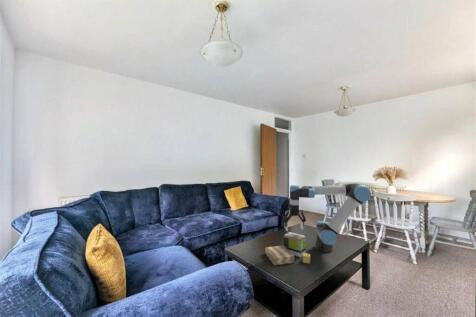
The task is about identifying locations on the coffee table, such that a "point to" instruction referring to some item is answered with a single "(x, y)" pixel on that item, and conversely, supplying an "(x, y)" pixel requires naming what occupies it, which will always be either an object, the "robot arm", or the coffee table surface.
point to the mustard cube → (306, 258)
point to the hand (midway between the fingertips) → (294, 230)
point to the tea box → (295, 243)
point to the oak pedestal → (279, 255)
